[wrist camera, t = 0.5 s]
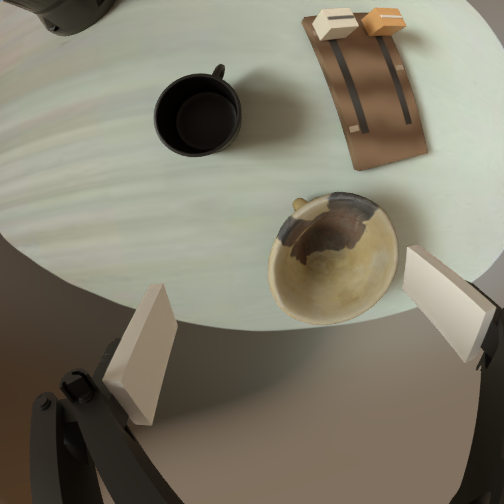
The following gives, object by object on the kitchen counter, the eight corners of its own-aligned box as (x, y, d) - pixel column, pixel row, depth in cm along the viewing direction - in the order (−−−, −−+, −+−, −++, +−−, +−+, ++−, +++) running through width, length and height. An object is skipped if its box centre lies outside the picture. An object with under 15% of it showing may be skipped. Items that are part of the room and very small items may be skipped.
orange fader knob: (361, 19, 26) (375, 7, 21) (382, 19, 25) (398, 8, 20) (368, 36, 27) (384, 25, 22) (390, 35, 26) (407, 25, 21)
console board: (301, 22, 28) (304, 16, 26) (374, 16, 27) (380, 12, 25) (354, 169, 37) (359, 171, 35) (420, 151, 36) (428, 152, 34)
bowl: (382, 263, 43) (409, 291, 34) (287, 307, 45) (296, 344, 37) (353, 165, 37) (384, 173, 28) (241, 213, 39) (241, 235, 30)
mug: (257, 84, 32) (262, 67, 24) (227, 162, 36) (223, 168, 28) (193, 66, 30) (179, 45, 22) (164, 143, 35) (142, 144, 26)
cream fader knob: (312, 23, 26) (322, 9, 21) (337, 21, 26) (350, 7, 21) (320, 40, 27) (331, 27, 23) (345, 37, 27) (359, 25, 22)
